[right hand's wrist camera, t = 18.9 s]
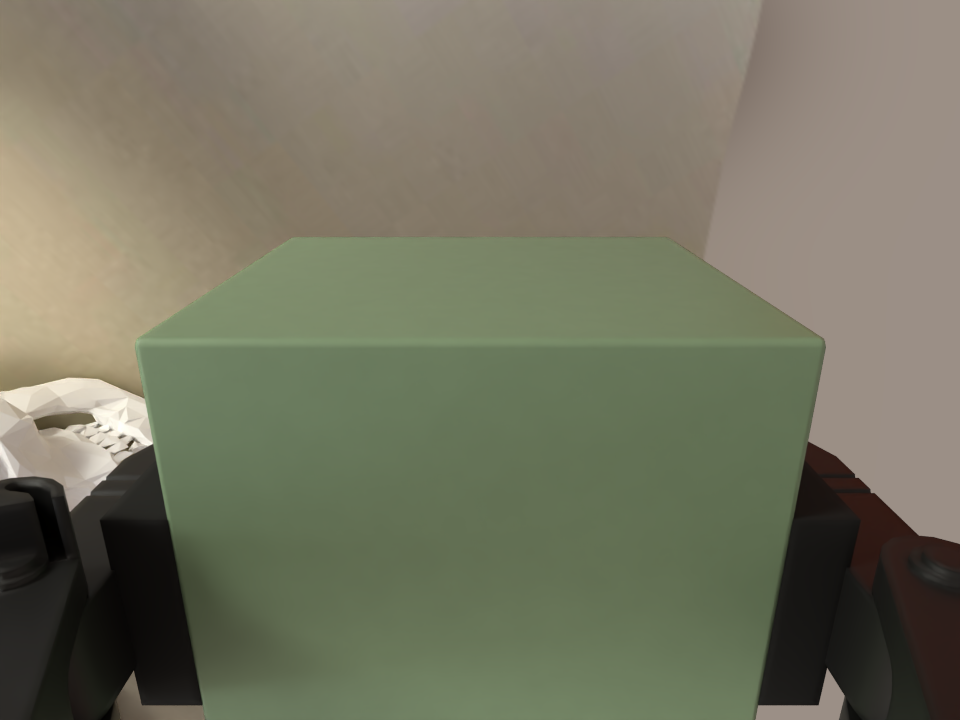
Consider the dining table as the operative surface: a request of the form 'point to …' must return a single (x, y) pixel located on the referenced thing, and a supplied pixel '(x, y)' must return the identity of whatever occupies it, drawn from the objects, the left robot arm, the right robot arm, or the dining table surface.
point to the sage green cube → (480, 479)
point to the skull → (70, 433)
